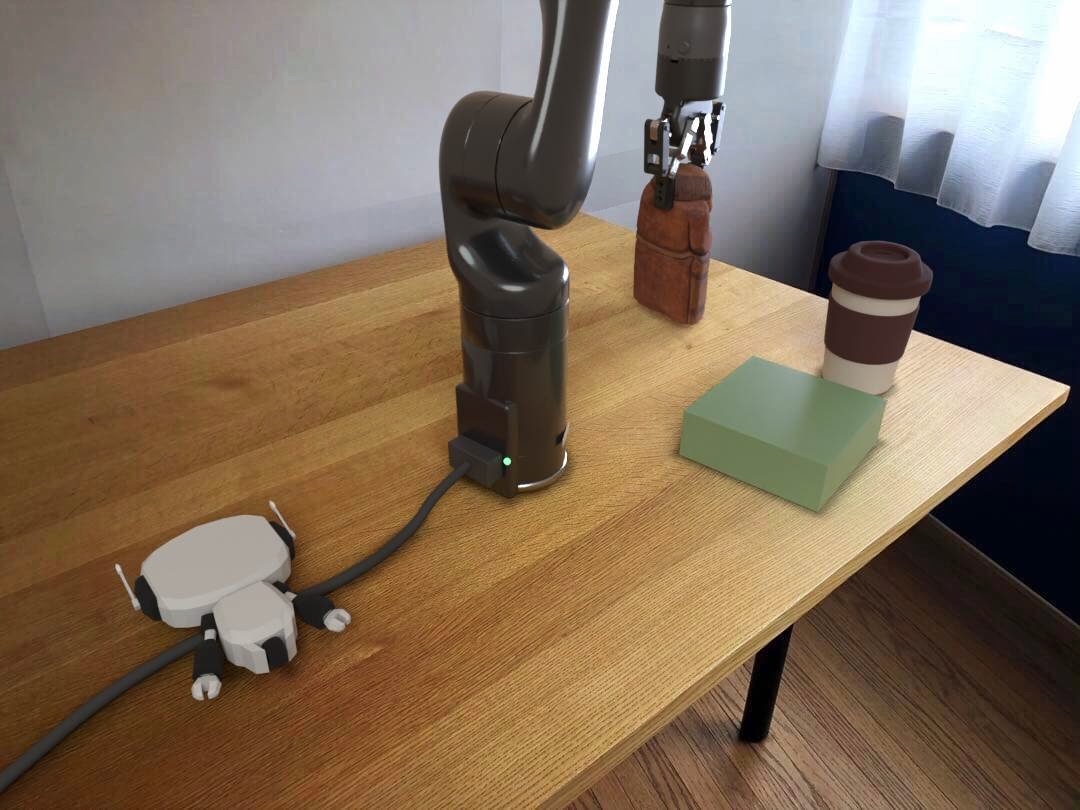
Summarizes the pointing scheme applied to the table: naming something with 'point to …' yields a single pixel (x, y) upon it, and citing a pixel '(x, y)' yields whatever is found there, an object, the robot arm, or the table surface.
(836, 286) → the coffee cup
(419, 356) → the table surface
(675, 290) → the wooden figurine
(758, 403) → the green block
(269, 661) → the robot toy
